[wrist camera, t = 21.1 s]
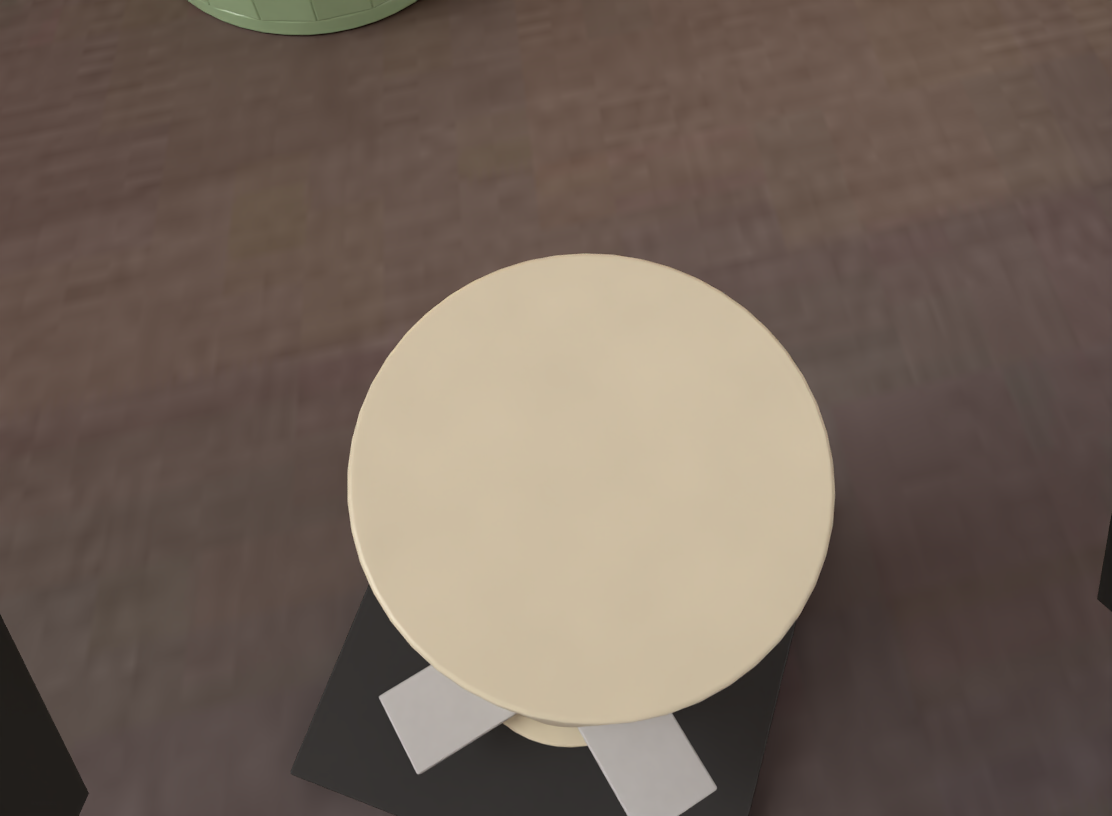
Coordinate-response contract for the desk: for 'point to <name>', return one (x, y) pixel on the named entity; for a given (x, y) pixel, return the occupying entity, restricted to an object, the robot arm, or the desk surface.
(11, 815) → the robot arm
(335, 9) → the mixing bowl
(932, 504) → the desk surface
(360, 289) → the desk surface
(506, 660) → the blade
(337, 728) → the mat
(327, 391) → the desk surface
